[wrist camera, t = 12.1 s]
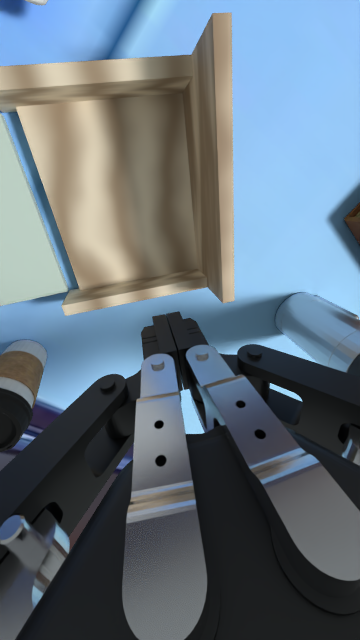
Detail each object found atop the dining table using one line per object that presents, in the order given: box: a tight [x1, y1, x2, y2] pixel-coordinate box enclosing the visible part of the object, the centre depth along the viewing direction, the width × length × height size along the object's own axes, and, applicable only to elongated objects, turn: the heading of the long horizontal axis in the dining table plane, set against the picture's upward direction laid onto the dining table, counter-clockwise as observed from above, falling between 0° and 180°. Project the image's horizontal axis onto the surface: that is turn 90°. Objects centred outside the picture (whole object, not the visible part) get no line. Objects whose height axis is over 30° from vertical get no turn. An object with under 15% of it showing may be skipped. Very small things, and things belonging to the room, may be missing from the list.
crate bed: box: [0, 13, 234, 316], centre depth 27 cm, size 22×24×12 cm
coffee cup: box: [0, 340, 47, 452], centre depth 33 cm, size 8×8×15 cm
